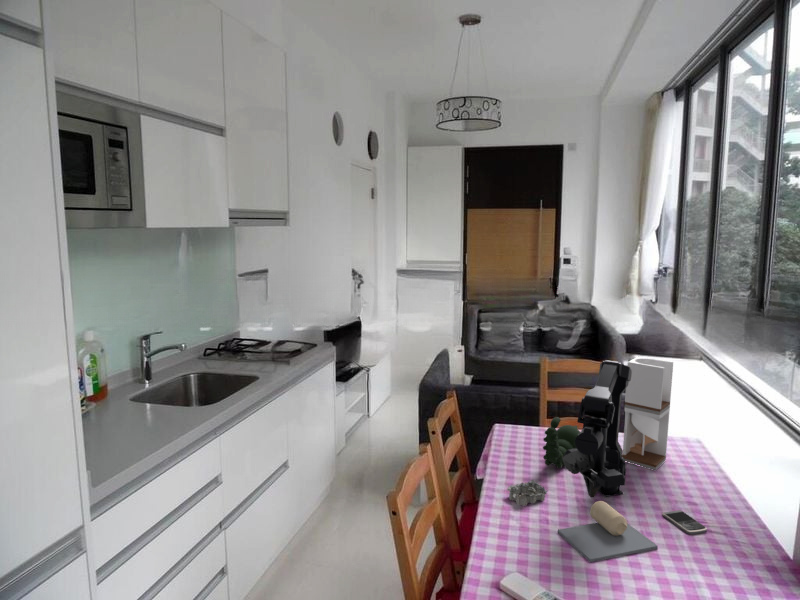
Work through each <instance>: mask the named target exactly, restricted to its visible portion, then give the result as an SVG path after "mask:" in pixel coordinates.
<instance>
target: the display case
mask: <svg viewBox="0 0 800 600" xmlns="http://www.w3.org/2000/svg"><path fill="white" fill-rule="evenodd" d="M626 365H627V366H628V367H630V368H631V370H632V375H631V381H629V383H628V386H627V388H626V389H625V394H624V412H625V414H624V428H623V441H622V442H623V444H622V445H623V446H622V450H623V455H622V457H623V458H624V460H625V461H627V462H630V463H634V464H637V465H640V466H643V467H642V468H644V467H646V468H645V469H647V468H650V469H649V470H651V469H653V470H652V471H654V470H656V469H657V468H658V467H659V466H660V465H661V464H662V463H663V462H664V461H665V460H667V451H668V450H667V449H668V434H669V425H670V424H669V422H670V411H671V408H670V407H671V400H672V399H671V396H672V383H673V372H674V361H671V360H663V359H656V358H651V357H643V356H636V357H635V358H633V359H631V360H629V361H627V364H626ZM665 462H666V461H665ZM665 462H664V463H665ZM664 463H663V464H664ZM663 464H662V465H663ZM662 465H661V466H662ZM640 466H639V467H640ZM661 466H660V467H661ZM660 467H659V468H660ZM659 468H658V469H659ZM658 469H657V470H658ZM657 470H656V471H657Z"/></svg>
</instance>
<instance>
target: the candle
mask: <svg viewBox="0 0 800 600" xmlns="http://www.w3.org/2000/svg"><path fill="white" fill-rule="evenodd" d="M589 513H590V516H591V517H592V519H593V520H594V521H596V523H599V524H600V525H601V526H603V527H604V528H605V529H606V530H607V531H608V532H609V533H611V534H612V535H614V536H619V535H621V534H623V533H624V532H625V530H626V529H627V523H628V521H627V518H625V517H624V516H623V514H621V513H619V512H618V511H617V510H616V509H614V508H613V507H612V506H611V505H609V504H608V503H607V502H605V501H603V500H598V501H595V502H594V503H593V504H592V505H591V506H590V512H589Z"/></svg>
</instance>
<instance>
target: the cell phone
mask: <svg viewBox="0 0 800 600" xmlns="http://www.w3.org/2000/svg"><path fill="white" fill-rule="evenodd" d="M661 514H662V517H664V518H665V519H667V521H670V523H671V524H673V525H675V526H676V527H677V528H679V529H680V530H682V531H683V532H684V533H686V534H688V535H695V534H703V533H706V532H707V531H708V528H707V527H706V526H705V525H703V524H702V523H701V522H699V521H697V520H696V519H695V518H693V517H692V516H690V515H689V514H687V513H686V512H685V511H682V509H678V510H673V511H672V510H671V511H666V512H665V511H664V512H661Z"/></svg>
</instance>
